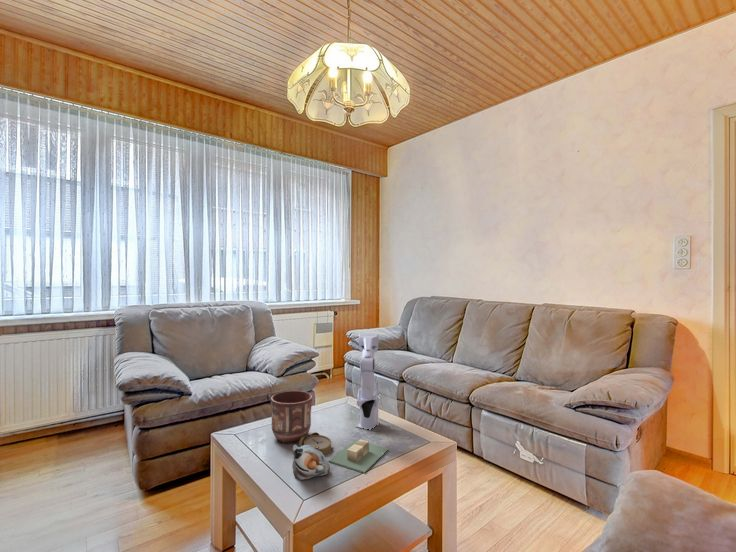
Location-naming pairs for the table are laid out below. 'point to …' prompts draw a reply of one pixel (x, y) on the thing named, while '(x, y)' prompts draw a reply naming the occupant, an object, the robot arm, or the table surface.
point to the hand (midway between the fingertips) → (366, 417)
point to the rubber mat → (364, 462)
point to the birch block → (358, 450)
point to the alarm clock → (317, 442)
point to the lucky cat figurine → (309, 462)
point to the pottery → (291, 415)
